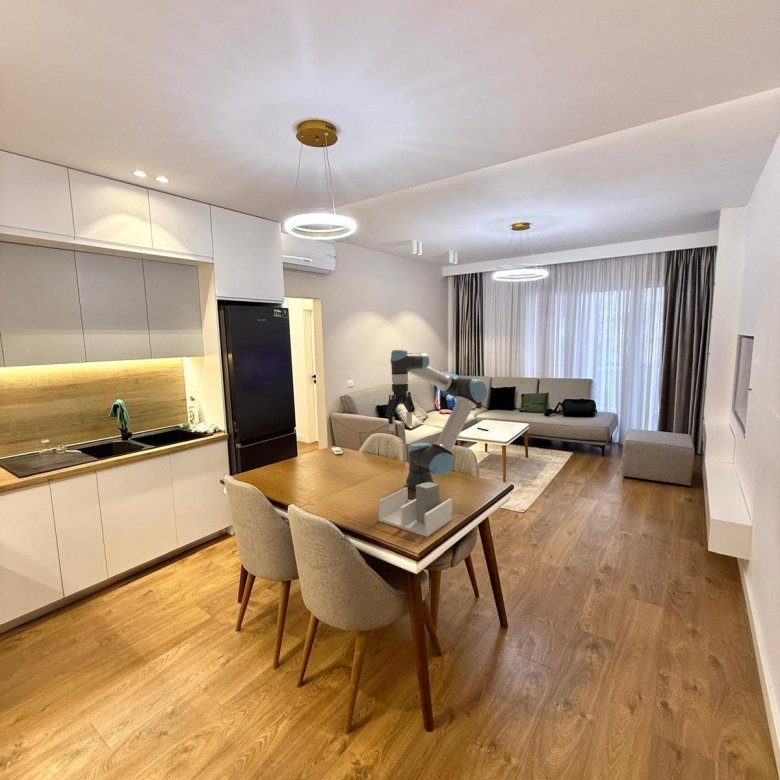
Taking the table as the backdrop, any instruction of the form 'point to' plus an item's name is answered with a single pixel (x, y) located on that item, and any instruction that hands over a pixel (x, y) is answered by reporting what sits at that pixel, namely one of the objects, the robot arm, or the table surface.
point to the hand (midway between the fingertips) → (400, 428)
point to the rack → (413, 513)
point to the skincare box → (426, 499)
